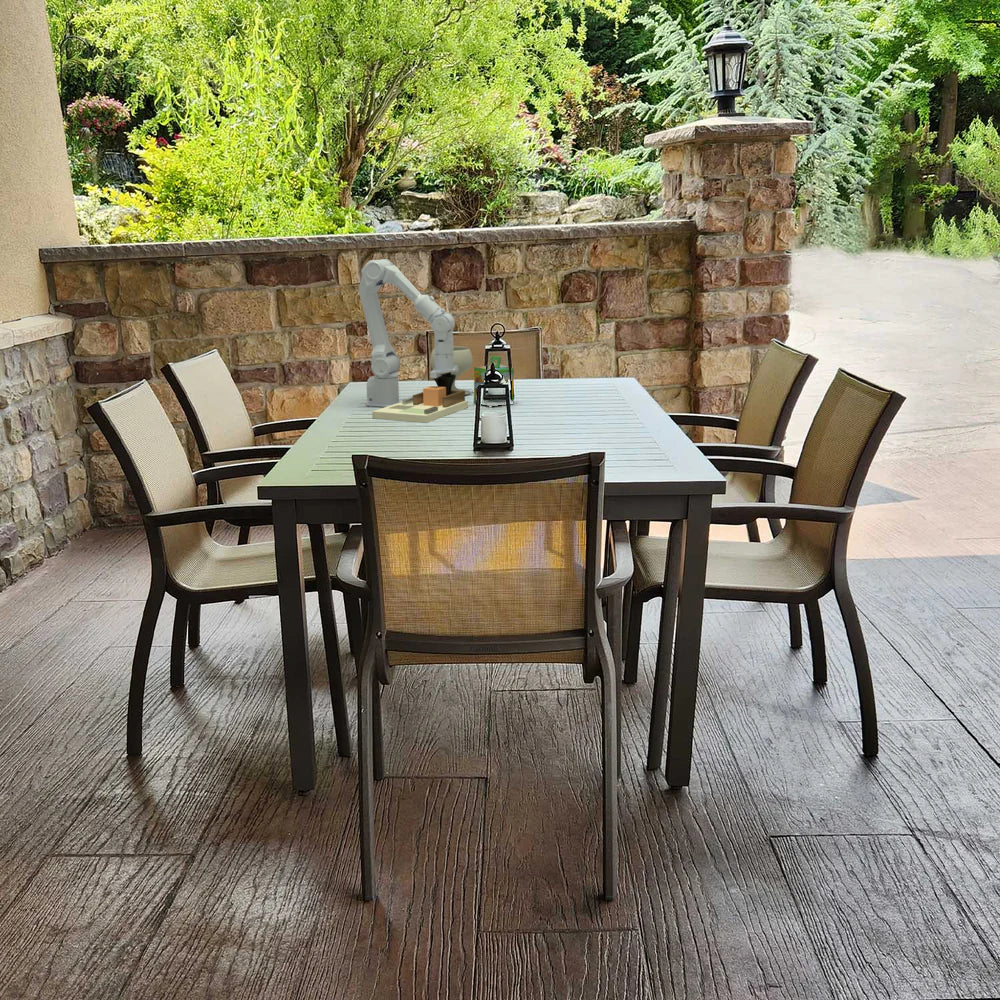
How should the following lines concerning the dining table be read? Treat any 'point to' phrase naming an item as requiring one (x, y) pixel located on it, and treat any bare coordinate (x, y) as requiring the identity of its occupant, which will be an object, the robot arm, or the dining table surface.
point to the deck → (415, 412)
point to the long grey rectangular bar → (407, 401)
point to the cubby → (447, 400)
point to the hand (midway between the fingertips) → (445, 398)
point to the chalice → (458, 363)
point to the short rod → (430, 410)
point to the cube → (434, 395)
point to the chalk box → (480, 372)
